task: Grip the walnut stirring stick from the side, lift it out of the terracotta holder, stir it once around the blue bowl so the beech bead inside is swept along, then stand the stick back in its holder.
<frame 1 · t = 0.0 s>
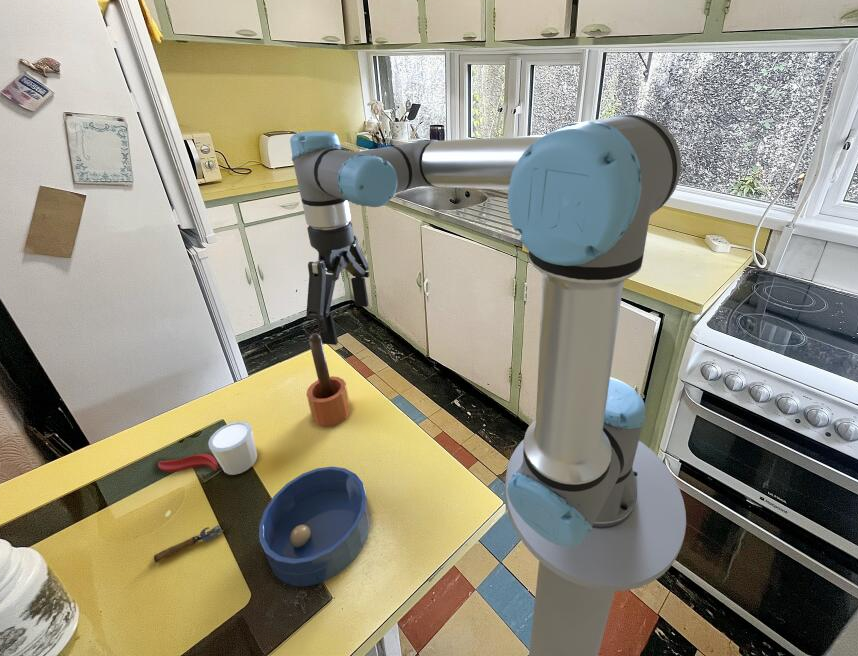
hand: (347, 323, 83), 21 cm above the table, tool pointing down, fingers open, 13 cm apart
bowl: (321, 533, 66), on the table
holder: (331, 413, 89), on the table
white cup: (240, 462, 78), on the table
stirring stick: (331, 411, 88), point 1 cm above the table, touching holder
cayenne pepper: (189, 465, 77), on the table
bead: (302, 541, 64), point 1 cm above the table, touching bowl
can opener: (191, 546, 64), on the table
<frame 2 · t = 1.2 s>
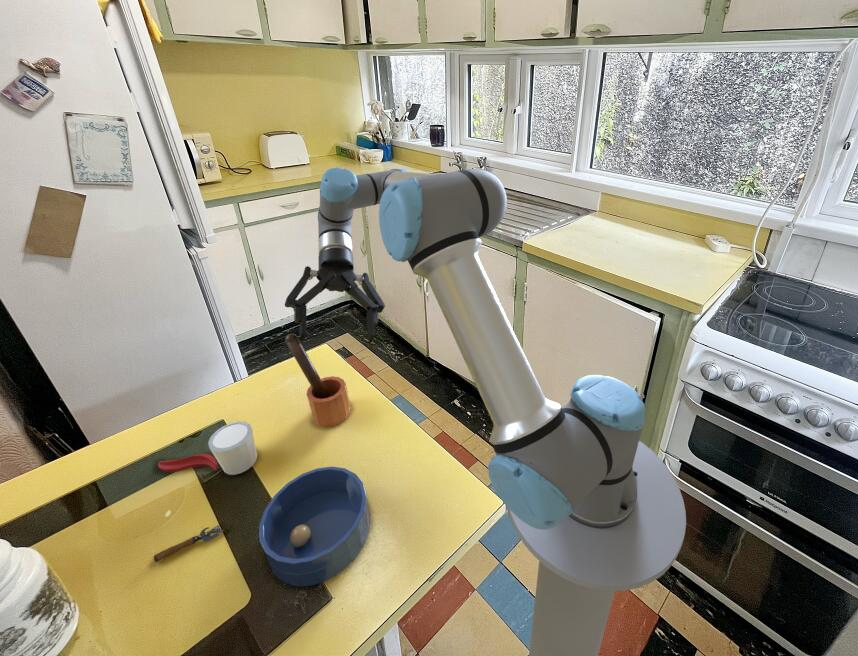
hand: (338, 337, 84), 17 cm above the table, tool tilted 60°, fingers open, 13 cm apart
stirring stick: (332, 411, 88), point 1 cm above the table, tilted 16°, touching holder
everything else where it was.
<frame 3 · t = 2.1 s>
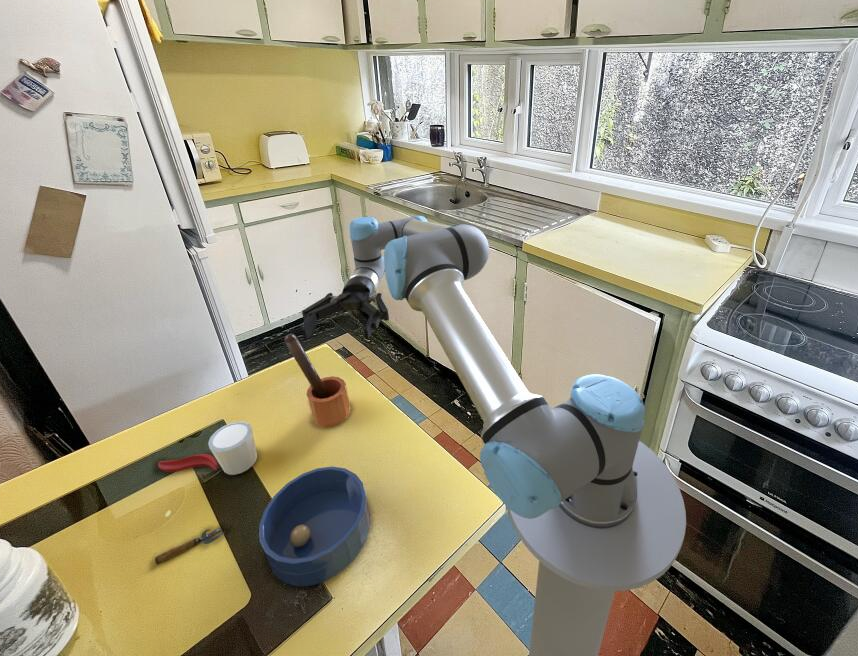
hand: (335, 334, 91), 14 cm above the table, tool horizontal, fingers open, 13 cm apart
nothing on the table moved.
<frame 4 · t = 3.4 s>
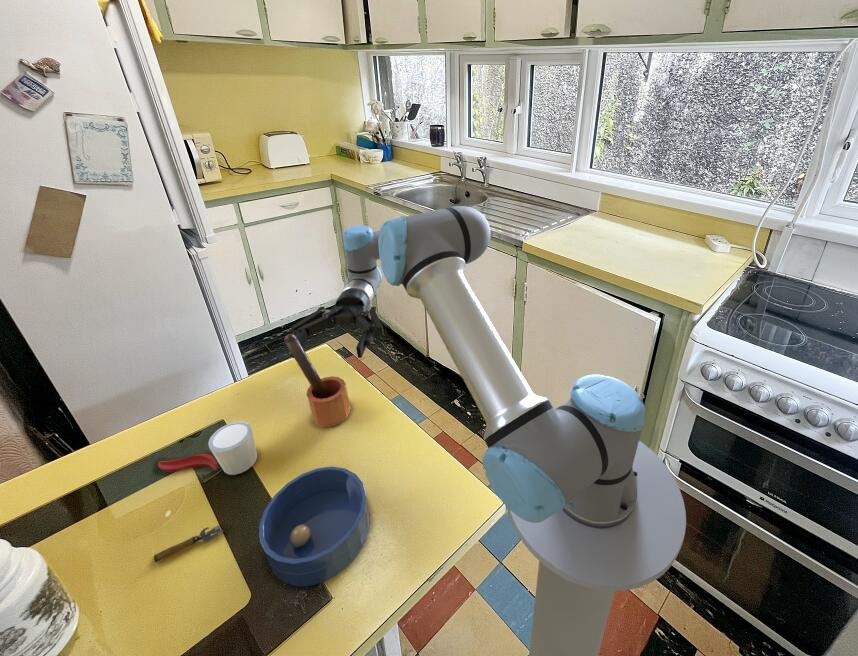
hand: (325, 353, 85), 14 cm above the table, tool horizontal, fingers open, 13 cm apart
nothing on the table moved.
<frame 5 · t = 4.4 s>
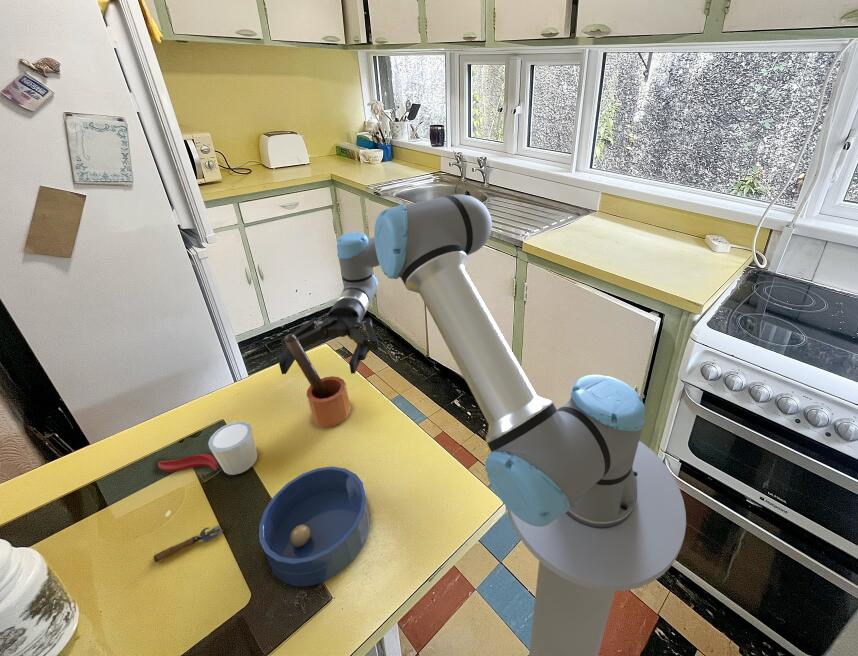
hand: (317, 368, 81), 14 cm above the table, tool horizontal, fingers open, 13 cm apart
nothing on the table moved.
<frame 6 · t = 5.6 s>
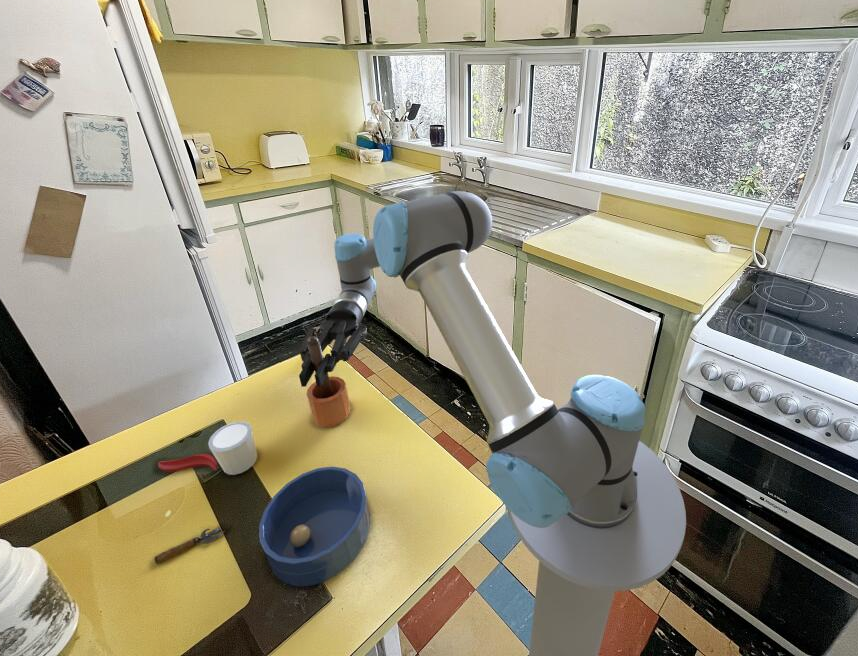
hand: (310, 380, 77), 14 cm above the table, tool horizontal, fingers closed on stirring stick, 2 cm apart
stirring stick: (332, 411, 88), point 1 cm above the table, touching gripper, holder
everything else where it was.
when the fingers open (14 cm above the table, at t = 29.8 s): stirring stick stays where it is and tips over, resting on holder.
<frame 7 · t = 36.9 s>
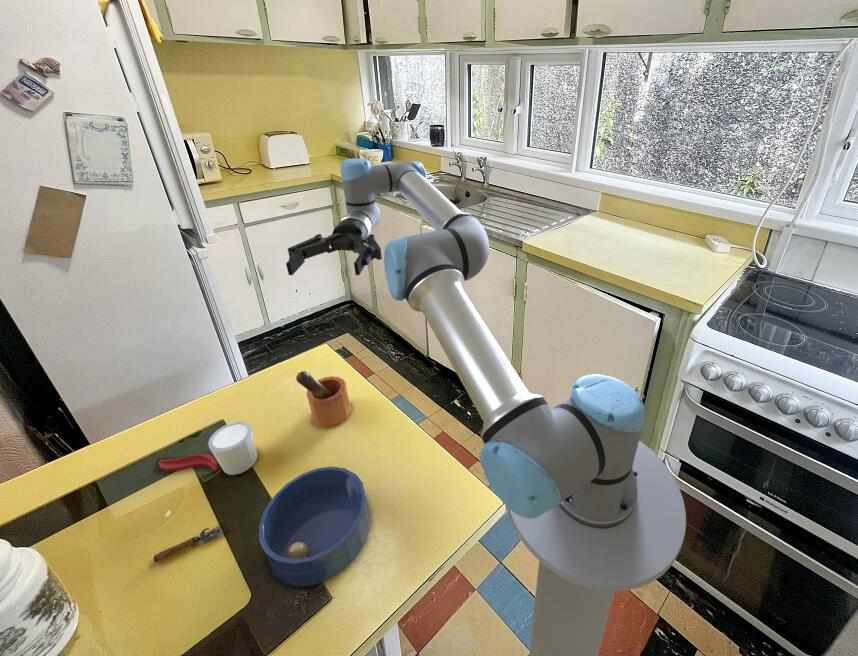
hand: (322, 269, 84), 30 cm above the table, tool horizontal, fingers open, 13 cm apart
stirring stick: (333, 401, 90), point 1 cm above the table, tilted 33°, touching holder
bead: (301, 542, 63), point 2 cm above the table, tilted 99°, touching bowl
everything else where it was.
at the end: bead moved 2.2 cm from its start; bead inside the target area in the bowl (3.2 cm from its centre), point 2.3 cm above the bowl's base; stirring stick 2.4 cm off-centre in the holder, point 1.1 cm above the holder's base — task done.
